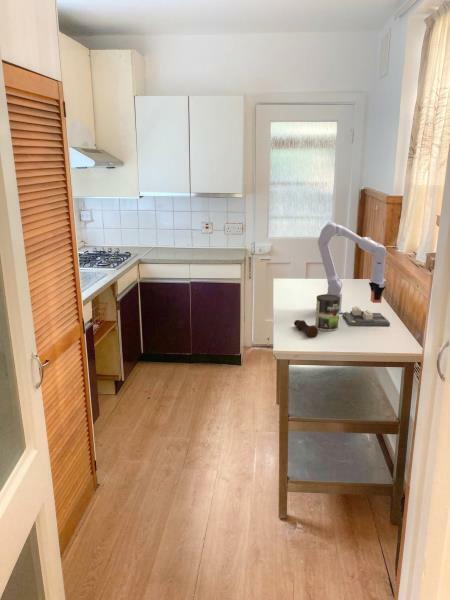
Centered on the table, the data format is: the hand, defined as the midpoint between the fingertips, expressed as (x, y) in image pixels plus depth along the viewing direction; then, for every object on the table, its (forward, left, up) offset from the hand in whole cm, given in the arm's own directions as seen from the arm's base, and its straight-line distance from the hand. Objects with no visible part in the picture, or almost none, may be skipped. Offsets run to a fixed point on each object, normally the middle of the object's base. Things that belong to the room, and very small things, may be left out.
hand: (375, 298), depth 232 cm
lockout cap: (0, 0, -2) cm, 2 cm away
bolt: (-38, -25, -9) cm, 46 cm away
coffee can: (-27, -18, -9) cm, 34 cm away
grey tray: (-7, -9, -8) cm, 14 cm away
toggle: (-10, -5, -7) cm, 13 cm away
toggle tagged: (-7, -12, -7) cm, 15 cm away
